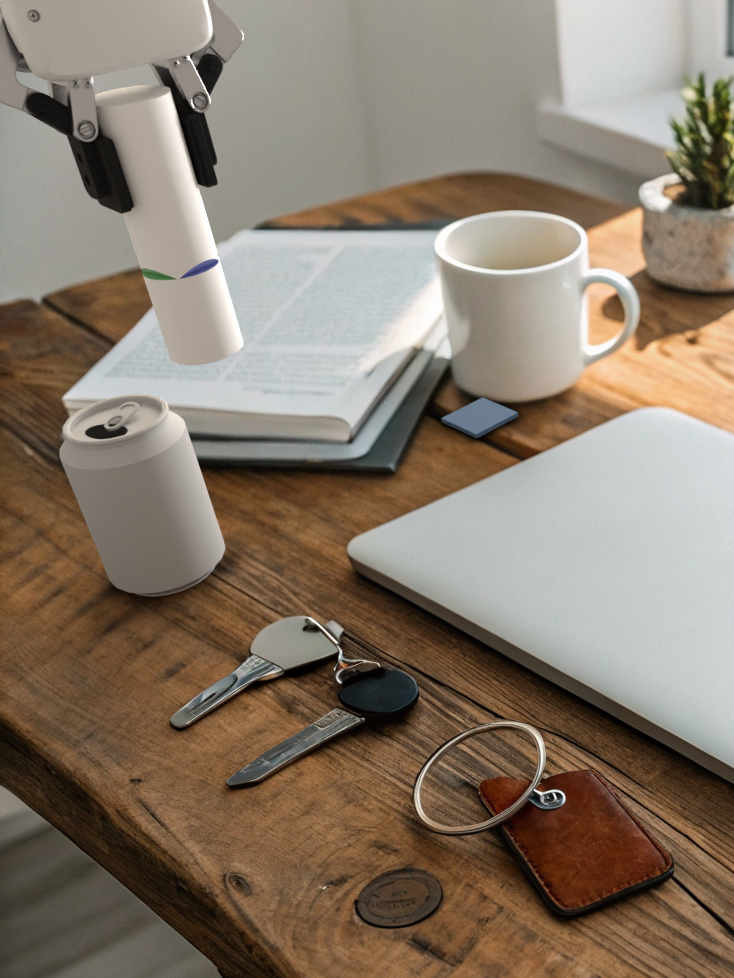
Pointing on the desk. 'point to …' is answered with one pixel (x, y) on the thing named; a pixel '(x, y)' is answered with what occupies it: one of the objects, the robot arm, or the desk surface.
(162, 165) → the tube
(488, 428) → the tile
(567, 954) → the desk surface
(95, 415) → the can
